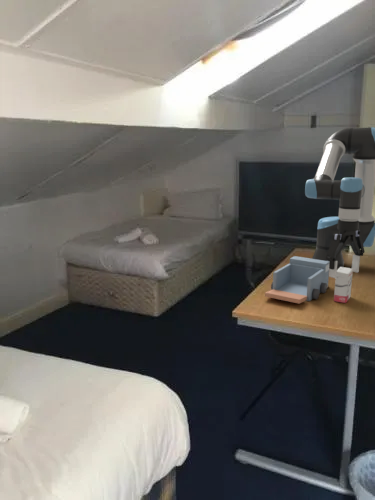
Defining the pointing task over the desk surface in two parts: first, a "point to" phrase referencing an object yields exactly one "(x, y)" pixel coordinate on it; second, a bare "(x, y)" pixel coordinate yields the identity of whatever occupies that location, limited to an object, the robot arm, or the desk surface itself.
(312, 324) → the desk surface
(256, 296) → the desk surface
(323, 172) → the robot arm
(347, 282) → the ink box
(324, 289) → the pickup bed
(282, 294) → the tailgate
